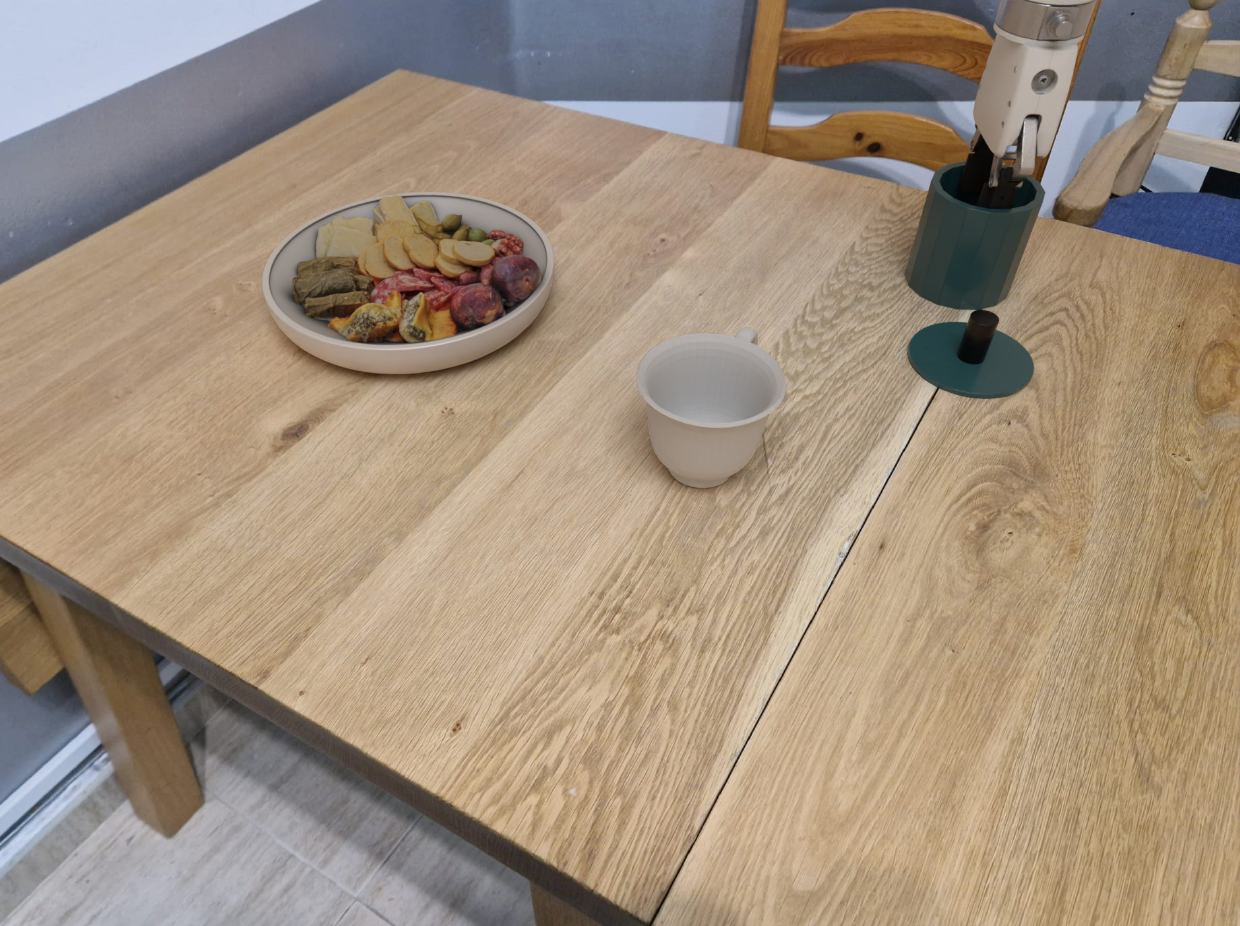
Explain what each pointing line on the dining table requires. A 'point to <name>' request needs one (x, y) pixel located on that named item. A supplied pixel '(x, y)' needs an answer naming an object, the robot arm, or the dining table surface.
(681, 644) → the dining table surface
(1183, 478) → the dining table surface
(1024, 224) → the teal hollow cylinder
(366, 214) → the bowl
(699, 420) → the teacup
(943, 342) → the canister lid
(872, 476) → the dining table surface
